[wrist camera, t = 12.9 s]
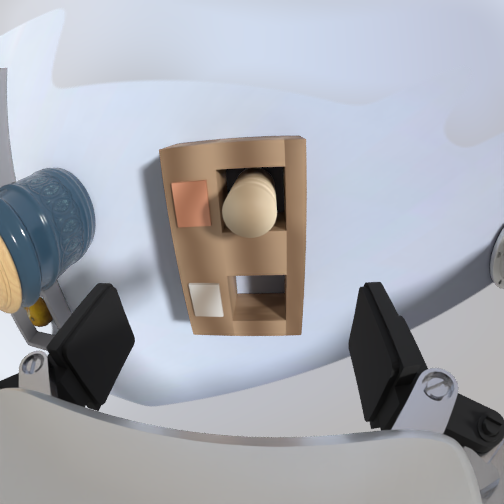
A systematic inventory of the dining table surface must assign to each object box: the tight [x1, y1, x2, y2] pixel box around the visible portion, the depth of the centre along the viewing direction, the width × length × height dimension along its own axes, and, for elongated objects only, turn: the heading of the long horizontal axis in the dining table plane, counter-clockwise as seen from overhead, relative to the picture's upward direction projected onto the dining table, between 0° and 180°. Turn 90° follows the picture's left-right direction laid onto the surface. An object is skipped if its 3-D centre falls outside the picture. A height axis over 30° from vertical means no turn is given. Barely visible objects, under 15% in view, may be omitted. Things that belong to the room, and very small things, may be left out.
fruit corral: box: [11, 280, 72, 351], centre depth 37 cm, size 15×14×4 cm
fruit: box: [24, 297, 53, 327], centre depth 37 cm, size 8×8×4 cm
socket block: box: [159, 136, 307, 336], centre depth 28 cm, size 12×20×5 cm, turn 3°
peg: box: [222, 167, 277, 238], centre depth 24 cm, size 4×4×8 cm
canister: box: [0, 168, 95, 313], centre depth 22 cm, size 13×13×18 cm
